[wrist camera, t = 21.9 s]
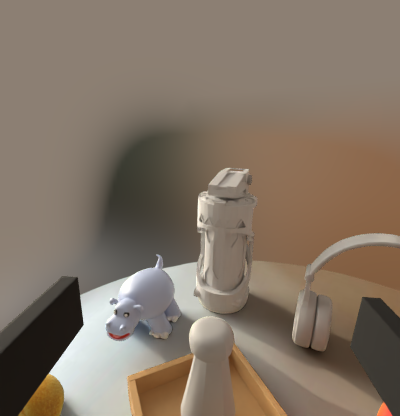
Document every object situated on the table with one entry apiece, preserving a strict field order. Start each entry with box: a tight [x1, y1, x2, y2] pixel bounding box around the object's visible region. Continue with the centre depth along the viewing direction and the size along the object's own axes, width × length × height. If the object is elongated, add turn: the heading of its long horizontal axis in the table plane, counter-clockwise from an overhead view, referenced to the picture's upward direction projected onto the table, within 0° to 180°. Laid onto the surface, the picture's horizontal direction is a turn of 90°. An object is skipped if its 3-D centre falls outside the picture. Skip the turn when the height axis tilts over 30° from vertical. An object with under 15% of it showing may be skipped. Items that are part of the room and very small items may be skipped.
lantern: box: [194, 168, 257, 314], centre depth 48 cm, size 13×10×25 cm
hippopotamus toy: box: [106, 255, 181, 341], centre depth 42 cm, size 11×15×10 cm
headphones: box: [292, 233, 400, 351], centre depth 34 cm, size 20×8×19 cm, turn 64°
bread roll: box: [18, 374, 64, 416], centre depth 27 cm, size 8×9×4 cm
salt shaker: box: [181, 316, 236, 416], centre depth 26 cm, size 6×6×13 cm
